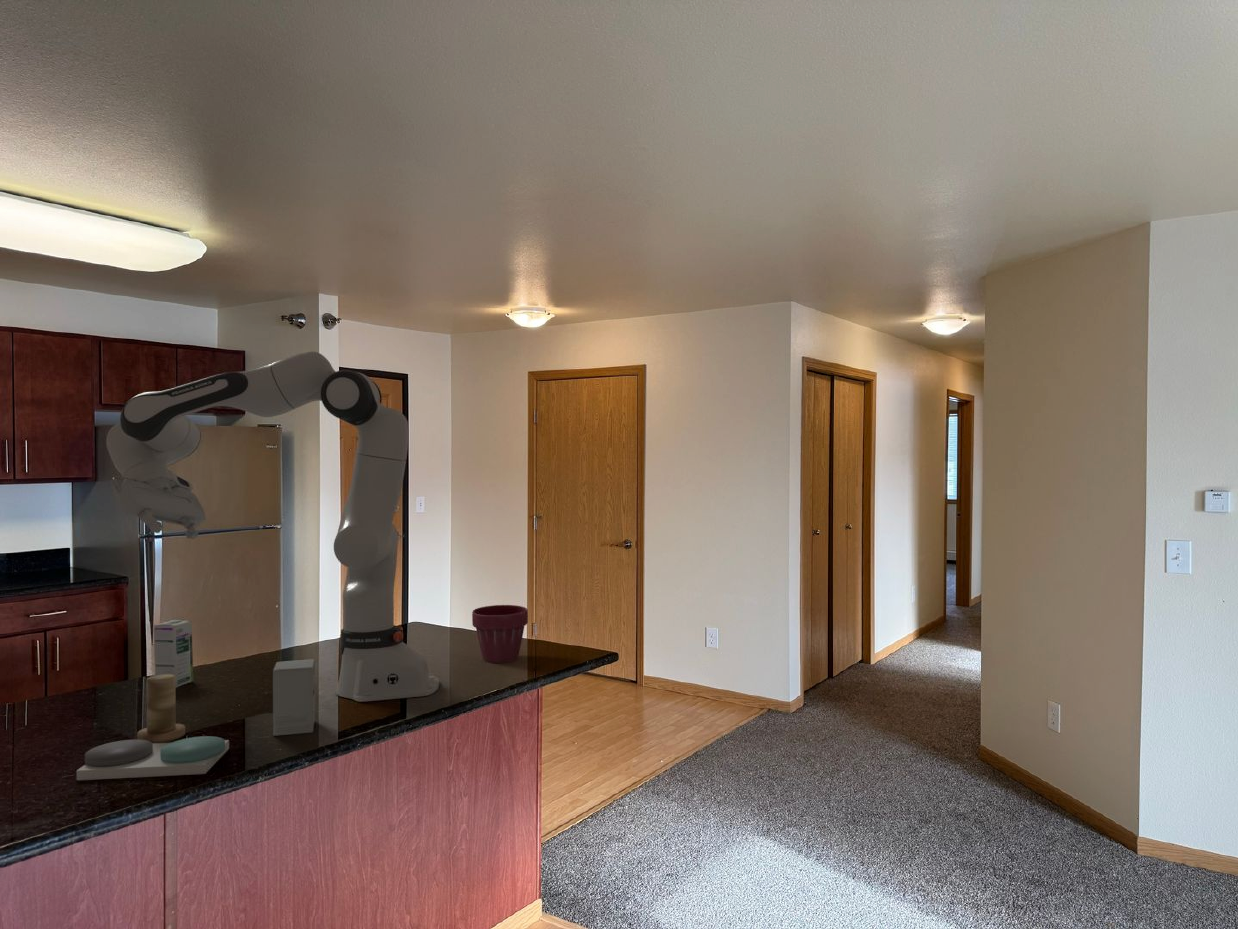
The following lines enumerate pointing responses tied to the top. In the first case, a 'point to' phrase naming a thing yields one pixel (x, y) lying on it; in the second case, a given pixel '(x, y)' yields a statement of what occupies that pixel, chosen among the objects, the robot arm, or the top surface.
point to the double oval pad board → (152, 758)
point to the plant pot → (500, 631)
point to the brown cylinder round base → (161, 711)
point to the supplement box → (293, 697)
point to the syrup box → (174, 650)
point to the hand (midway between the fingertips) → (176, 534)
